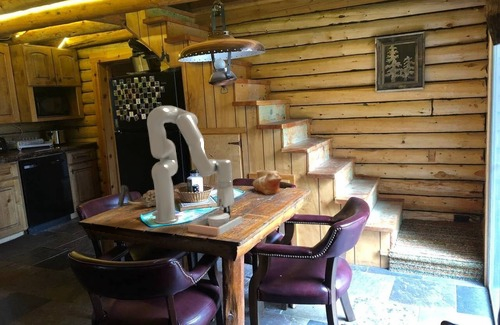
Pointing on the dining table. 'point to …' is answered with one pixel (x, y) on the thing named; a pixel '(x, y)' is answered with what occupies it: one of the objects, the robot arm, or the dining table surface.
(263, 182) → the bread loaf
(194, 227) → the bay
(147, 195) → the knobbly ball on stick
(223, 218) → the ramekin
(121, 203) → the phone stand
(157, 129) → the robot arm
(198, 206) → the dining table surface
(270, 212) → the dining table surface
